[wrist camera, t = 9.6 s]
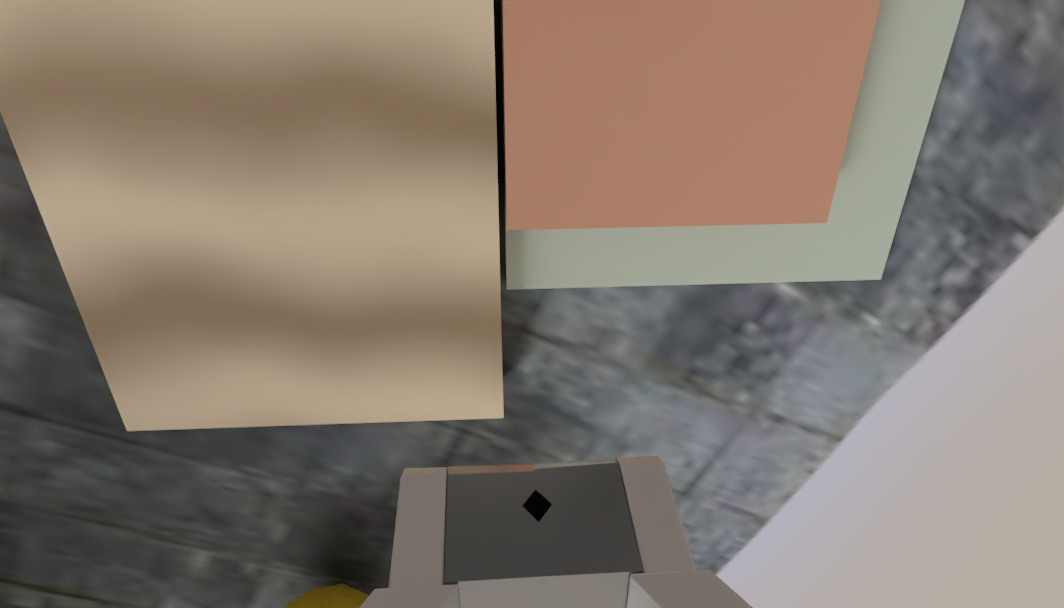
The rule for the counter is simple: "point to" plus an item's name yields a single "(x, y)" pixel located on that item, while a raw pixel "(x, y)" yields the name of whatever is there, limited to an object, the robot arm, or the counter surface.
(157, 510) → the counter surface
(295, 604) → the lemon
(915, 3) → the mat
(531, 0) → the tile
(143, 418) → the beige flat board
